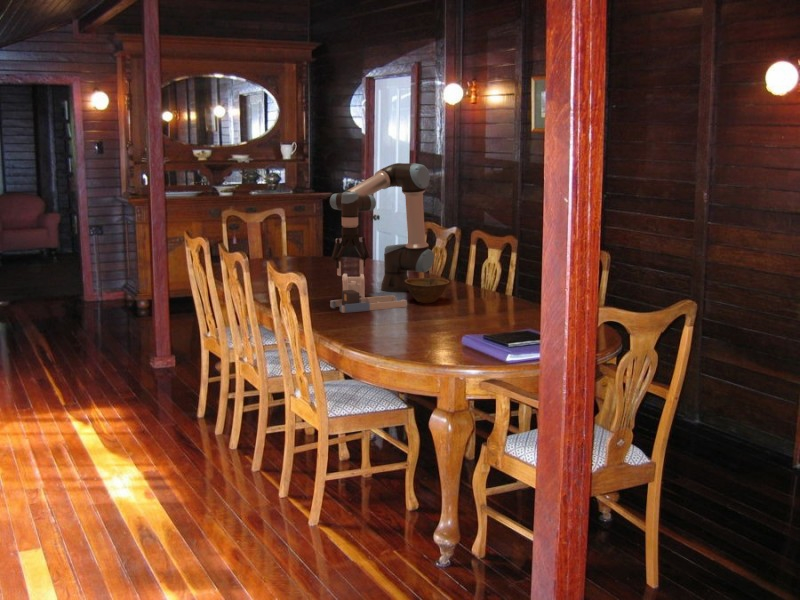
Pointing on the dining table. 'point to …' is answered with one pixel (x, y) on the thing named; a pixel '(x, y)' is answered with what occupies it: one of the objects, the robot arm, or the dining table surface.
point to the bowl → (426, 288)
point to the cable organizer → (354, 284)
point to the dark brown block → (349, 297)
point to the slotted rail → (370, 304)
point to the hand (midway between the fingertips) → (350, 274)
